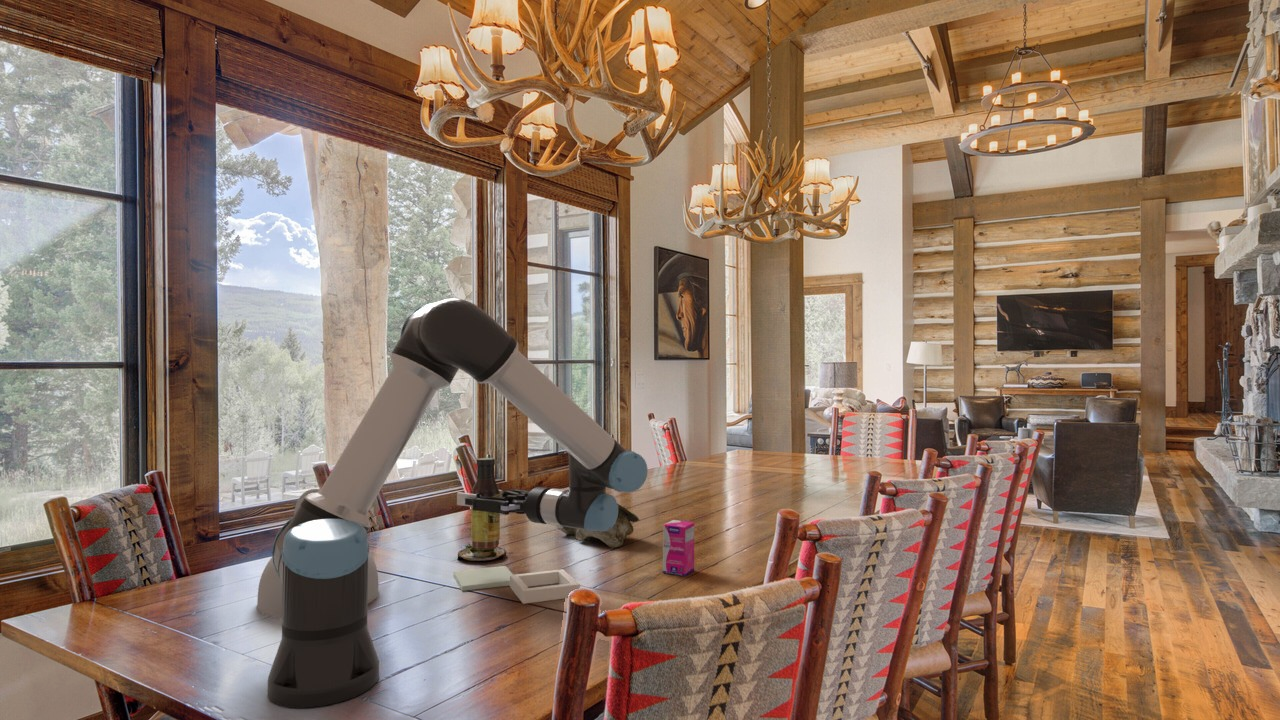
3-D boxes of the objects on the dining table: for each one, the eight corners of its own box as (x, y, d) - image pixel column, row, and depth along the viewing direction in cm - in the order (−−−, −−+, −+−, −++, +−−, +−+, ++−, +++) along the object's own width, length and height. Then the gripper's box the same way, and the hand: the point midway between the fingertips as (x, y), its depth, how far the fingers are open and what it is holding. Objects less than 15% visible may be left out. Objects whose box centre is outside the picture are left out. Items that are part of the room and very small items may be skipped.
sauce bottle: (493, 551, 152) (492, 461, 152) (466, 550, 154) (465, 460, 154) (504, 544, 159) (503, 457, 159) (479, 543, 160) (478, 456, 160)
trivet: (462, 591, 148) (462, 586, 148) (453, 575, 159) (453, 571, 159) (517, 584, 153) (517, 579, 153) (505, 569, 164) (505, 565, 164)
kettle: (409, 595, 146) (410, 487, 146) (310, 629, 126) (311, 505, 126) (333, 576, 158) (334, 477, 159) (232, 605, 139) (234, 492, 139)
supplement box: (661, 573, 162) (662, 524, 162) (672, 567, 167) (672, 519, 167) (684, 577, 159) (684, 526, 159) (695, 570, 164) (695, 521, 164)
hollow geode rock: (556, 547, 204) (527, 515, 197) (580, 512, 211) (552, 480, 204) (625, 563, 184) (595, 528, 177) (648, 524, 191) (621, 488, 184)
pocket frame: (523, 603, 140) (523, 591, 140) (509, 586, 151) (509, 575, 151) (579, 596, 145) (579, 584, 145) (562, 580, 156) (562, 569, 156)
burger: (448, 562, 171) (448, 532, 171) (474, 551, 182) (474, 522, 182) (490, 567, 167) (490, 536, 167) (515, 555, 178) (515, 525, 178)
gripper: (519, 533, 139) (437, 520, 151) (576, 515, 155) (497, 505, 167) (519, 495, 139) (437, 485, 151) (576, 482, 156) (498, 474, 167)
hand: (469, 496), depth 159 cm, fingers closed on sauce bottle, 6 cm apart
